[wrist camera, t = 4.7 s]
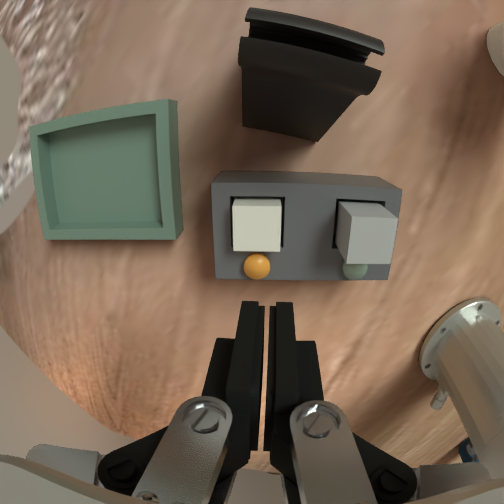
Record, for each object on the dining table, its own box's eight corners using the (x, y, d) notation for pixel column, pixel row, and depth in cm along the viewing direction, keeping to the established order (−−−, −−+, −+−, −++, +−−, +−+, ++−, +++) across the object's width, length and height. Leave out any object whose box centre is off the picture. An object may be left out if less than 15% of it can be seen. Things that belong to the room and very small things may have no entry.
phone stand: (264, 23, 19) (263, -51, 8) (338, 41, 19) (394, -16, 8) (241, 125, 23) (220, 126, 12) (316, 142, 23) (362, 159, 12)
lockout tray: (183, 229, 26) (176, 239, 24) (57, 231, 27) (44, 239, 24) (177, 101, 22) (168, 99, 20) (44, 124, 22) (29, 126, 20)
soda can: (469, 447, 44) (484, 485, 33) (451, 450, 44) (466, 492, 33) (488, 428, 41) (506, 468, 30) (471, 431, 41) (489, 475, 30)
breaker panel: (368, 253, 26) (389, 283, 21) (224, 251, 27) (214, 282, 22) (378, 176, 24) (405, 191, 18) (221, 171, 24) (209, 184, 19)
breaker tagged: (277, 232, 23) (280, 251, 20) (237, 232, 23) (233, 251, 20) (279, 193, 22) (281, 206, 19) (237, 193, 22) (232, 205, 19)
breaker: (373, 243, 21) (390, 263, 18) (334, 242, 21) (346, 263, 18) (378, 203, 20) (398, 218, 17) (338, 201, 20) (351, 216, 17)
